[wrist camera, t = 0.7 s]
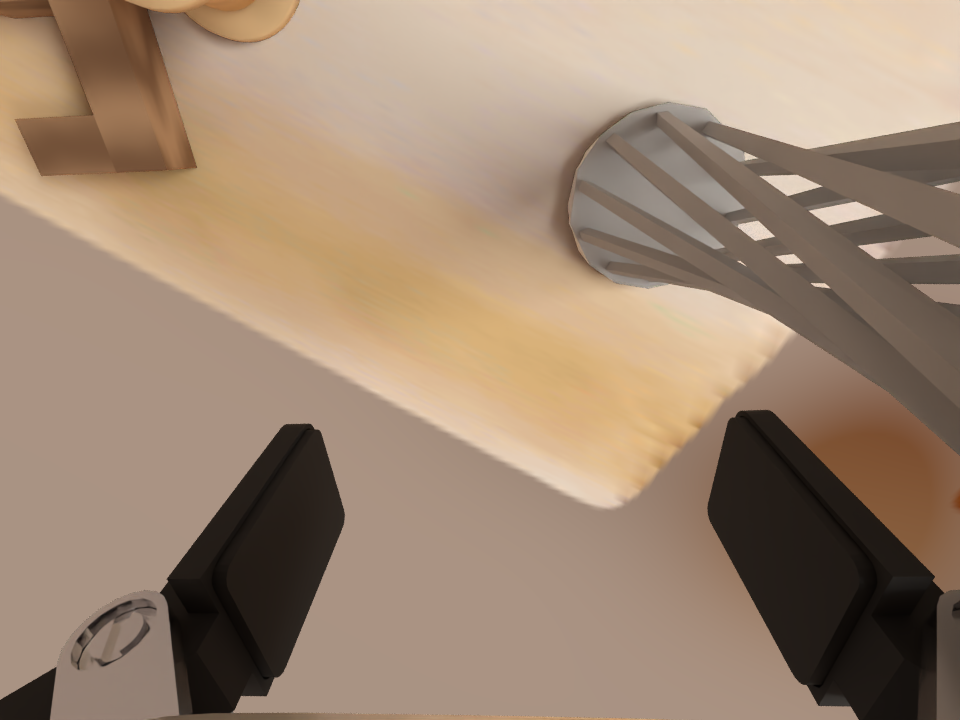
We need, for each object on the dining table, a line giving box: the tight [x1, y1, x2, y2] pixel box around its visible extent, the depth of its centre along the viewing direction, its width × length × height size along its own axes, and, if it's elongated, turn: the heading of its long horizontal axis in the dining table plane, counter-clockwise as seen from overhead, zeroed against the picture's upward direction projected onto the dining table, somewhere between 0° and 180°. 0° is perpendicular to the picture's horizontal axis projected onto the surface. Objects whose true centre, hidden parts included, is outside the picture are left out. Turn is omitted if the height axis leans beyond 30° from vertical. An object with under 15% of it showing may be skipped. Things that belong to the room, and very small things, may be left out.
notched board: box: [0, 0, 197, 176], centre depth 30 cm, size 14×10×4 cm
